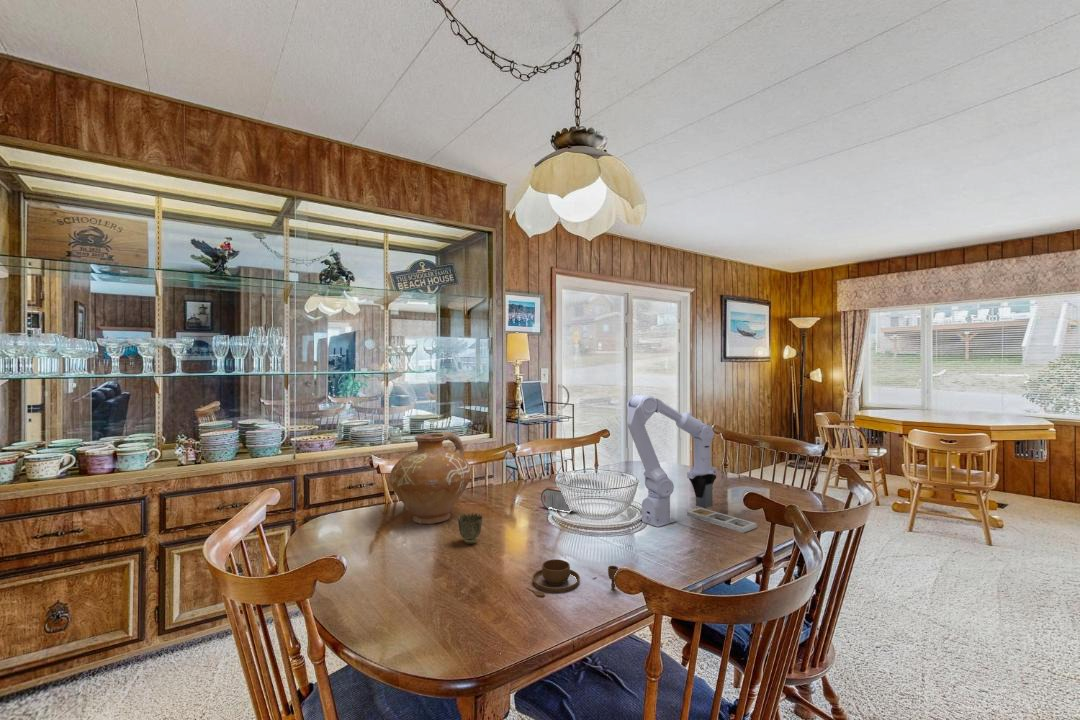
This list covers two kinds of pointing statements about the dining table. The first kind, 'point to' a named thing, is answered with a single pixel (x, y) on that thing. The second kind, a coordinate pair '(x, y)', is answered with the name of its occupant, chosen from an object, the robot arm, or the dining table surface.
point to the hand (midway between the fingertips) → (702, 495)
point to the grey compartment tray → (730, 523)
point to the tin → (554, 499)
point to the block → (706, 496)
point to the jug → (431, 477)
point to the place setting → (561, 576)
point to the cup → (470, 527)
